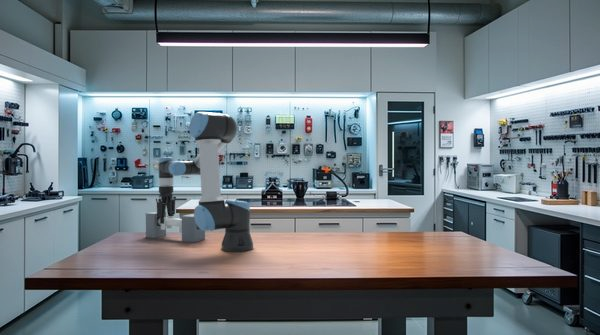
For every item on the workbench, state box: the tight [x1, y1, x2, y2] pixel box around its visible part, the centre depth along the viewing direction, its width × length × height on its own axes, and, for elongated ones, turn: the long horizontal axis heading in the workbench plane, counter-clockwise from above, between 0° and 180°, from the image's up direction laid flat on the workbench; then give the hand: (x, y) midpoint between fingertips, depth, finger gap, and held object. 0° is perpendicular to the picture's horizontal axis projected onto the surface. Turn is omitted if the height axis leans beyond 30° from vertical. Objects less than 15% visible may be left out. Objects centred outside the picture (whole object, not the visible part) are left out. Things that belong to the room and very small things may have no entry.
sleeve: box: [181, 213, 206, 243], centre depth 220 cm, size 8×9×13 cm
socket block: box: [145, 210, 167, 239], centre depth 230 cm, size 6×9×13 cm, turn 157°
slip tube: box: [157, 217, 182, 228], centre depth 225 cm, size 25×4×4 cm, turn 67°
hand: (166, 228), depth 227 cm, fingers closed on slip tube, 4 cm apart
